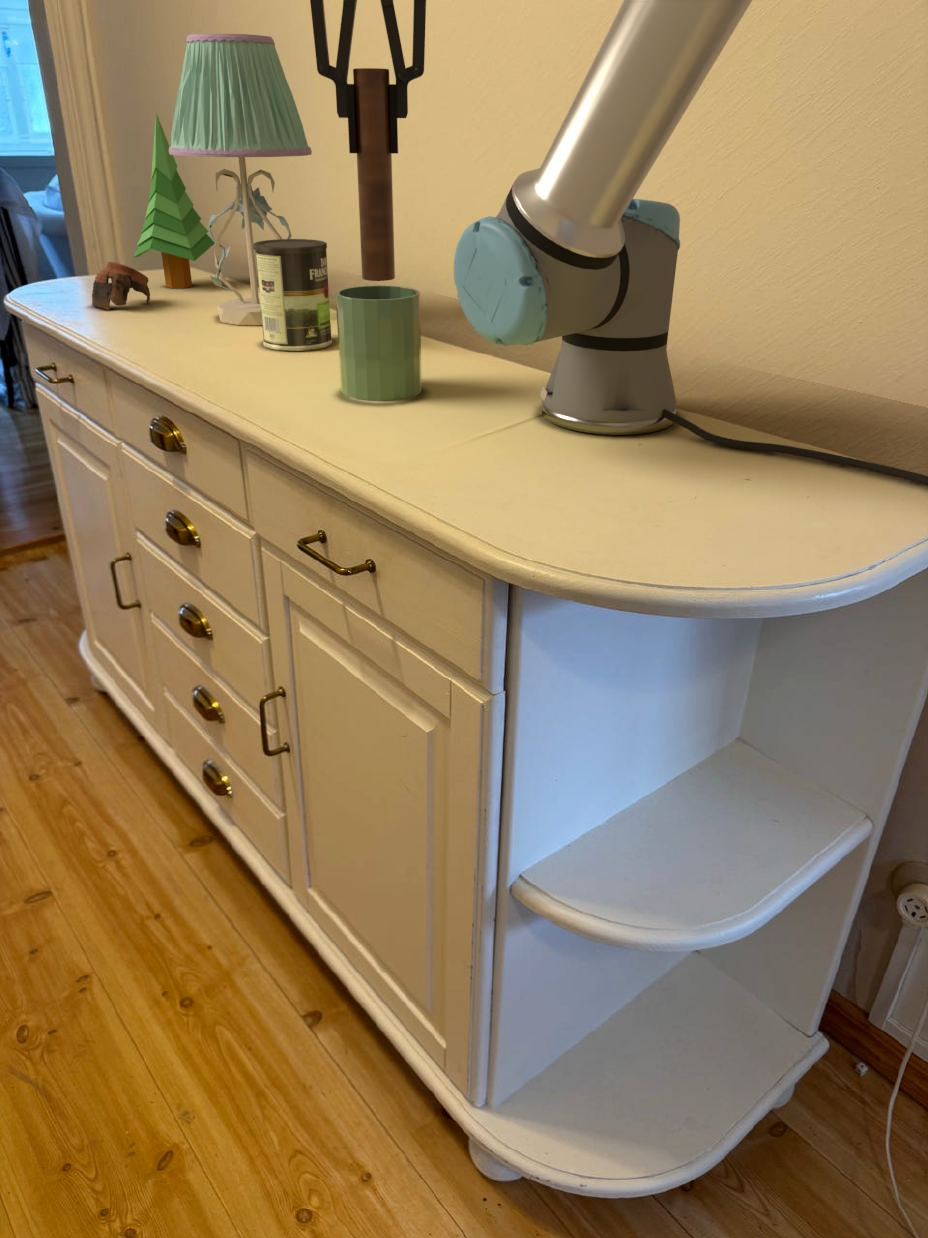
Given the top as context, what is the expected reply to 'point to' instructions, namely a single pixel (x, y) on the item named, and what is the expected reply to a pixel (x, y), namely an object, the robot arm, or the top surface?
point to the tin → (379, 342)
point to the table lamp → (237, 133)
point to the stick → (374, 172)
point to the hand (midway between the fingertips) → (374, 152)
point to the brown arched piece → (117, 285)
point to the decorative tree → (171, 218)
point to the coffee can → (293, 294)
